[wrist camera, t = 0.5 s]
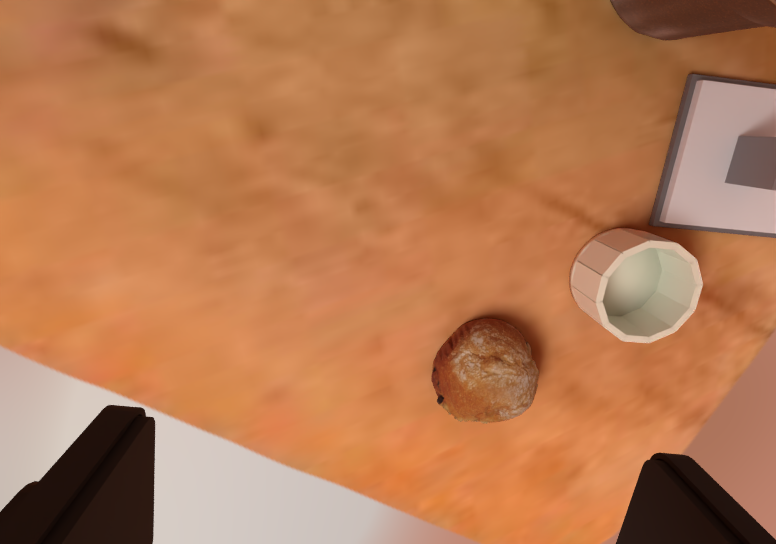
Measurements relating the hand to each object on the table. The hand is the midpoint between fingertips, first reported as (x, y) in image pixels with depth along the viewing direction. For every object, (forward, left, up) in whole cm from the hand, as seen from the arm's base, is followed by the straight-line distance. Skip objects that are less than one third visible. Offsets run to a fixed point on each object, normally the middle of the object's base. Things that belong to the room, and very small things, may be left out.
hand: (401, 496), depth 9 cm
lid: (-7, +33, -34) cm, 48 cm away
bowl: (+4, +24, -35) cm, 43 cm away
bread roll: (+15, +13, -35) cm, 40 cm away
